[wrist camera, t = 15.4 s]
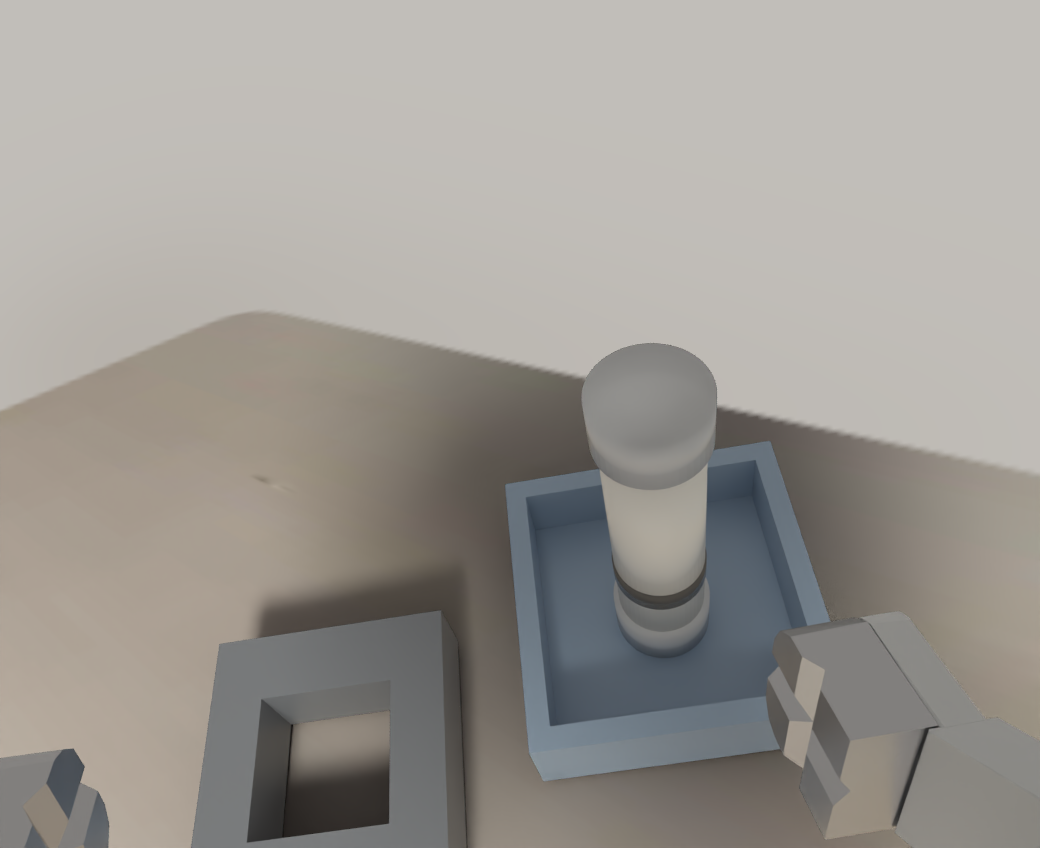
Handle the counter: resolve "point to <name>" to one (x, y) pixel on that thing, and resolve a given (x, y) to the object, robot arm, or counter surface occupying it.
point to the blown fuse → (655, 489)
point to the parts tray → (626, 671)
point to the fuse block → (325, 695)
